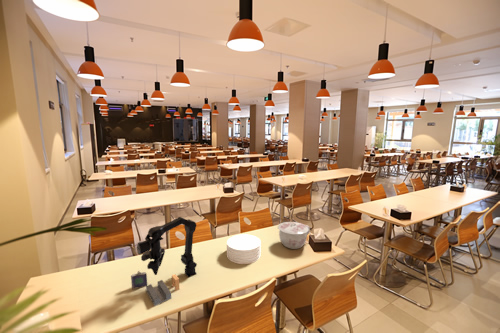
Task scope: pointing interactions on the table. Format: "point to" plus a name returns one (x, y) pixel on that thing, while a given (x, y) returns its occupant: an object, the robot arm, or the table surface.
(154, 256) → the robot arm
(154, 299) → the rail
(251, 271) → the table surface
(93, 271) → the table surface
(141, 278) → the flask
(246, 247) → the plate stack
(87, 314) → the table surface
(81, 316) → the table surface
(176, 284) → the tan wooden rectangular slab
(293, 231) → the chamber pot
